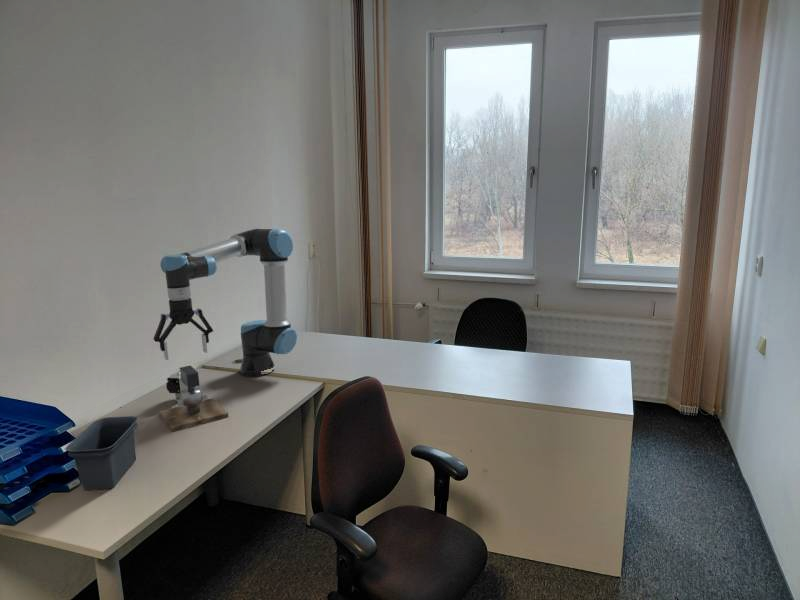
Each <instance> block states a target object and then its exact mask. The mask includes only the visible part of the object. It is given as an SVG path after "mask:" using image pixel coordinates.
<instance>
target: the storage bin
mask: <svg viewBox="0 0 800 600" xmlns="http://www.w3.org/2000/svg"><path fill="white" fill-rule="evenodd" d="M138 420H139V418H138V417H137V416H133V415H130V416H128V415H127V416H112V417H111V416H110V417H103V418H99V419H97V420H95V421H93V422H92V423H91V424H90V425H89V426H88V427H86V428H85V430H83V431H82V432H81V433H80V434H79V435H77V436H76V438H74V439H73V440H74V441H73V440H72V441H71V442H70V443H69V444H67V446H66V447H65V450H66V451H68V452H67V453H68V454H67V455H68V457H71V458H73V459H74V463H75V465H76V469H77V472H78V475H79V479H80V483H81V485H82V488H83V490H85V491H91V490H90V489H99V490H110V488H111V489H114V488H115V486H116V485H117V484H118V483H119V482H120V480H121V479H122V478H123V476H125V474H126V473H127V472H128V470H130V468H131V467H132V466H133V464H134V463H135V462H136V460H137V457H136V441H135V429H136V428H137V426H138Z"/></svg>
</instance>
